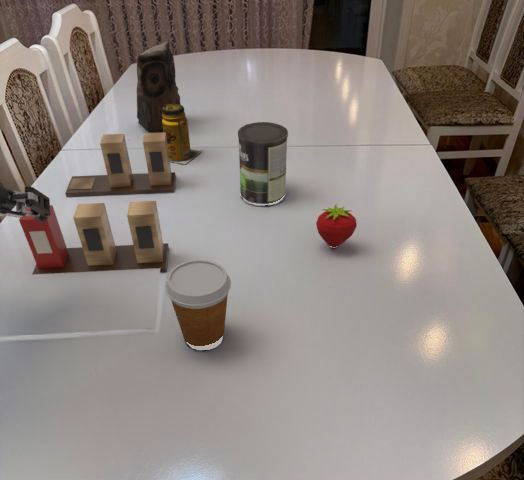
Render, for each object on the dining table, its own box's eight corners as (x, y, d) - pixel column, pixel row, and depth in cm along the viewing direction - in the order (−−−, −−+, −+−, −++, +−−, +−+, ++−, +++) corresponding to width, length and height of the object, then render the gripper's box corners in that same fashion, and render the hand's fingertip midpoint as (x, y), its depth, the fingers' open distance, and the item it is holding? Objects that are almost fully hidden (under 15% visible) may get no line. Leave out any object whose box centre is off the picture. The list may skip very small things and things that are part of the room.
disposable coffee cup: (181, 315, 83) (171, 255, 74) (237, 319, 82) (234, 259, 74) (168, 356, 76) (155, 296, 68) (229, 361, 76) (224, 300, 67)
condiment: (160, 159, 124) (152, 109, 116) (178, 146, 130) (172, 97, 121) (184, 165, 122) (178, 114, 113) (202, 152, 127) (198, 102, 119)
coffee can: (244, 209, 107) (242, 144, 97) (236, 186, 114) (233, 124, 104) (291, 204, 108) (293, 139, 98) (280, 182, 116) (281, 119, 106)
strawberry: (353, 258, 94) (360, 210, 87) (313, 256, 95) (317, 208, 88) (352, 240, 98) (359, 194, 91) (314, 238, 99) (318, 192, 92)
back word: (66, 197, 111) (51, 148, 103) (73, 180, 117) (59, 132, 109) (174, 192, 112) (167, 144, 105) (175, 176, 118) (169, 129, 110)
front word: (33, 278, 90) (11, 225, 82) (43, 253, 96) (24, 201, 88) (166, 272, 91) (157, 219, 84) (169, 247, 97) (160, 195, 89)
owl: (181, 117, 144) (172, 37, 129) (188, 134, 135) (179, 51, 121) (137, 121, 141) (123, 41, 127) (142, 139, 133) (127, 55, 119)
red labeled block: (37, 269, 91) (18, 220, 83) (43, 254, 94) (25, 206, 87) (63, 267, 91) (46, 219, 84) (68, 252, 94) (52, 204, 87)
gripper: (13, 150, 61) (60, 191, 77) (-106, 154, 61) (-34, 195, 77) (17, 211, 61) (63, 239, 78) (-102, 216, 61) (-31, 243, 77)
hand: (15, 217), depth 77 cm, fingers open, 8 cm apart
